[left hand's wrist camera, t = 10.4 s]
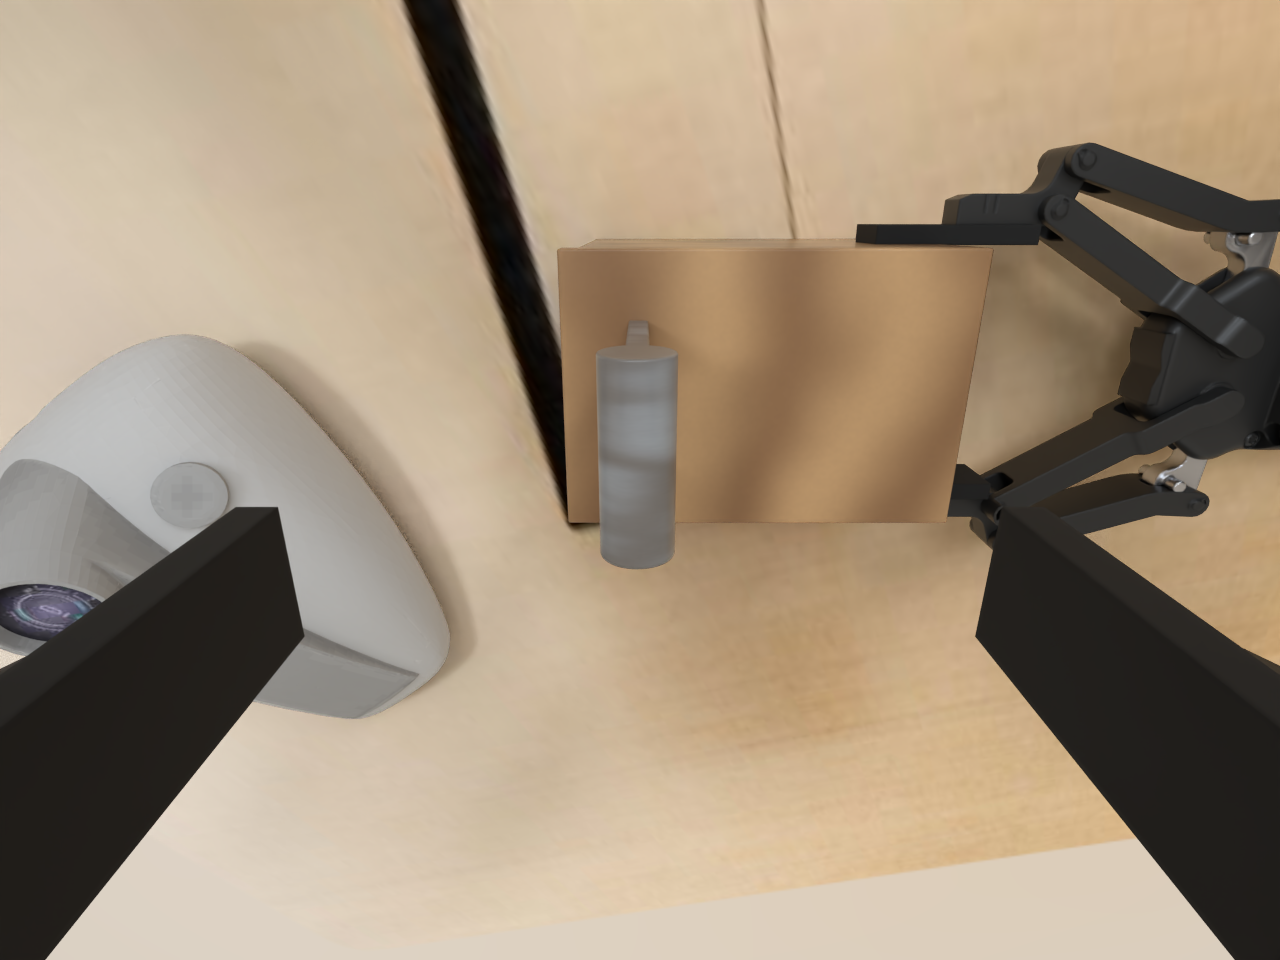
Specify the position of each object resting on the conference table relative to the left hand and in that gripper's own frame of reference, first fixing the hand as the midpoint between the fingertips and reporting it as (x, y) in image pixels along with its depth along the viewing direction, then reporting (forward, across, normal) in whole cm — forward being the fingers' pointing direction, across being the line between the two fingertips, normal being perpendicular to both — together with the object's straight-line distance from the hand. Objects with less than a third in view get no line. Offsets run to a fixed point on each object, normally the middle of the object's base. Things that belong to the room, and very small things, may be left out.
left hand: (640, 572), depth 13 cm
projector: (+26, -21, -11) cm, 35 cm away
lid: (+14, +5, 0) cm, 15 cm away
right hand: (+19, +9, 0) cm, 21 cm away
